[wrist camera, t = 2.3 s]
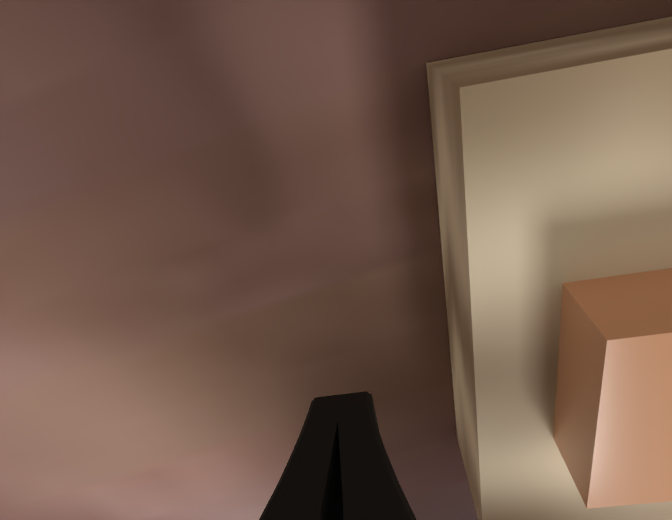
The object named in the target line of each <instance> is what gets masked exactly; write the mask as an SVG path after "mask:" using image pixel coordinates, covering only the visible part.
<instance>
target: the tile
mask: <svg viewBox="0 0 672 520" xmlns="http://www.w3.org/2000/svg"><path fill="white" fill-rule="evenodd" d="M553 439H554V441H555V443H556V445H557V447H558V449H559V451H560V453H561V455H562V458H563V460H564V462H565V464H566V466H567V468H568V470H569V472H570V474H571V476H572V479H573V481H574V483H575V485H576V487H577V489H578V491H579V493H580V495H581V497H582V500H583V502H584V504H585V506H586V508H587V509H589V508H601V507H612V506H623V505H635V504H646V503H657V502H669V501H672V268H669V269H661V270H654V271H647V272H639V273H632V274H625V275H618V276H610V277H603V278H596V279H588V280H581V281H574V282H567V283H563V285H562V302H561V319H560V336H559V353H558V370H557V387H556V403H555V420H554V437H553Z"/></svg>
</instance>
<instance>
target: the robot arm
mask: <svg viewBox="0 0 672 520" xmlns="http://www.w3.org/2000/svg"><path fill="white" fill-rule="evenodd" d="M259 520H416V518H415V516H414V514H413V512H412V510H411V508H410V505H409V503H408V501H407V499H406V497H405V495H404V493H403V491H402V489H401V486H400V484H399V482H398V480H397V477H396V475H395V473H394V470H393V468H392V465H391V463H390V460H389V458H388V455H387V453H386V450H385V448H384V445H383V442H382V439H381V436H380V433H379V428H378V423H377V418H376V413H375V408H374V403H373V398H372V395H371V394H370V393H368V392H358V393H350V394H342V395H333V396H325V397H317V398H315V399H314V400H313V401H312V402H311V405H310V408H309V411H308V414H307V417H306V420H305V423H304V425H303V428H302V430H301V433H300V435H299V438H298V440H297V443H296V445H295V447H294V450H293V452H292V454H291V456H290V459H289V461H288V463H287V465H286V467H285V469H284V472H283V474H282V476H281V478H280V480H279V482H278V484H277V486H276V488H275V490H274V492H273V494H272V496H271V498H270V500H269V502H268V504H267V506H266V508H265V509H264V511H263V513H262V515H261V517H260V519H259Z"/></svg>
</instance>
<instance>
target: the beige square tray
mask: <svg viewBox="0 0 672 520" xmlns="http://www.w3.org/2000/svg"><path fill="white" fill-rule="evenodd" d="M426 66H427V78H428V90H429V102H430V114H431V127H432V139H433V151H434V163H435V175H436V187H437V199H438V211H439V223H440V235H441V247H442V260H443V272H444V284H445V296H446V308H447V320H448V332H449V344H450V356H451V368H452V380H453V392H454V405H455V417H456V429H457V440H458V444H459V448H460V452H461V455H462V459H463V463H464V467H465V471H466V475H467V479H468V483H469V487H470V491H471V495H472V499H473V503H474V507H475V511H476V514H477V518H478V520H672V501H669V502H657V503H646V504H635V505H623V506H612V507H601V508H589V509H587V508H586V506H585V504H584V502H583V500H582V497H581V495H580V493H579V491H578V489H577V487H576V485H575V483H574V481H573V479H572V476H571V474H570V472H569V470H568V468H567V466H566V464H565V462H564V460H563V458H562V455H561V453H560V451H559V449H558V447H557V445H556V443H555V441H554V439H553V437H554V420H555V403H556V387H557V370H558V353H559V336H560V319H561V302H562V285H563V283H567V282H574V281H581V280H588V279H596V278H603V277H610V276H618V275H625V274H632V273H639V272H647V271H654V270H661V269H669V268H672V16H671V17H666V18H661V19H655V20H650V21H645V22H640V23H634V24H629V25H624V26H619V27H613V28H608V29H603V30H598V31H592V32H587V33H582V34H577V35H571V36H566V37H561V38H556V39H550V40H545V41H540V42H535V43H529V44H524V45H519V46H514V47H508V48H503V49H498V50H493V51H487V52H482V53H477V54H472V55H466V56H461V57H456V58H451V59H445V60H440V61H435V62H430V63H426Z"/></svg>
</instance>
